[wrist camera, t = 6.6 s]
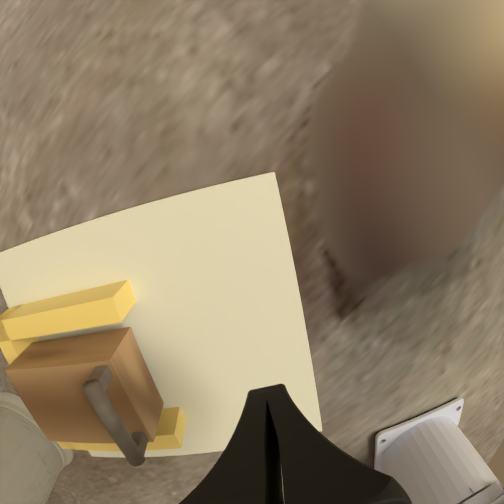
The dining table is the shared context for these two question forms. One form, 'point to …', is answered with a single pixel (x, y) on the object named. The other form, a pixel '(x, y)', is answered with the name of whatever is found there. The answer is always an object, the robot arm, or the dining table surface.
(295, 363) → the dock
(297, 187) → the dining table surface
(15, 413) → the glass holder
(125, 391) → the wooden block with handle
